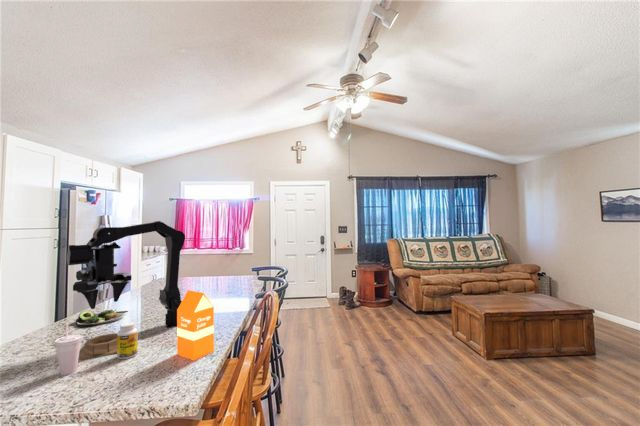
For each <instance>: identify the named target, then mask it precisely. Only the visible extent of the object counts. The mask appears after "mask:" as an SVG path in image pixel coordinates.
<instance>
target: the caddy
mask: <svg viewBox="0 0 640 426" xmlns="http://www.w3.org/2000/svg"><path fill="white" fill-rule="evenodd" d="M111 355H117V333H115V332H114V333H107V334H101V335H97V336H94V337H92V338H89V339H87V340H86V341H85V343H84V344H83V346H81V347H80V352H79V359H78V361H82V360H87V359H92V358H93V359H94V358H98V357H105V356H111Z"/></svg>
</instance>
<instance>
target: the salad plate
mask: <svg viewBox="0 0 640 426" xmlns="http://www.w3.org/2000/svg"><path fill="white" fill-rule="evenodd" d="M116 310H117V309H115V310H113V309H108V310H106V309H105V310H103V311H101V312H100V313H95V312H94V311H92V310H84V311H81V312H80V313H79V314H78V317H77V318H76V320H75V324H76V326H77V327H78V328H91V327H96V326H100V325H105V324H110V323H113V322H117V321H120V320H121V319H123V318H124V315H123V314H125V313H128V312H129V310H121V311H116Z"/></svg>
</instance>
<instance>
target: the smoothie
mask: <svg viewBox="0 0 640 426" xmlns="http://www.w3.org/2000/svg"><path fill="white" fill-rule="evenodd" d="M83 340H84V338H83V335H82V334H80V333H79V334H78V333H77V334H69V322H66V323H65V336H62V337H59V338H57V339H55V340H54V342H53V343H54V344H53V345H54V346H55V350H56V356H57V361H58V362H57V363H58V370H59V374H60V376H67V375H71V374H73V373H75V372H77V370H78V364H79V360H78V359H79V352H80V350H81V347H82V346H81V345H82V341H83Z"/></svg>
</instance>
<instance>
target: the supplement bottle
mask: <svg viewBox="0 0 640 426" xmlns="http://www.w3.org/2000/svg"><path fill="white" fill-rule="evenodd" d="M119 329H120V330H118V332H117V333H116V334H117V353H116V357H117V359H119V360H127V359H131V358H133V357H135V356H136V355H137V354H138V343H139V342H138V341H139V340H138V337H139V335H138V332H139V331H138V328H136V324H135V322H133V321H131V322H125V323H122V324H120V327H119Z"/></svg>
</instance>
